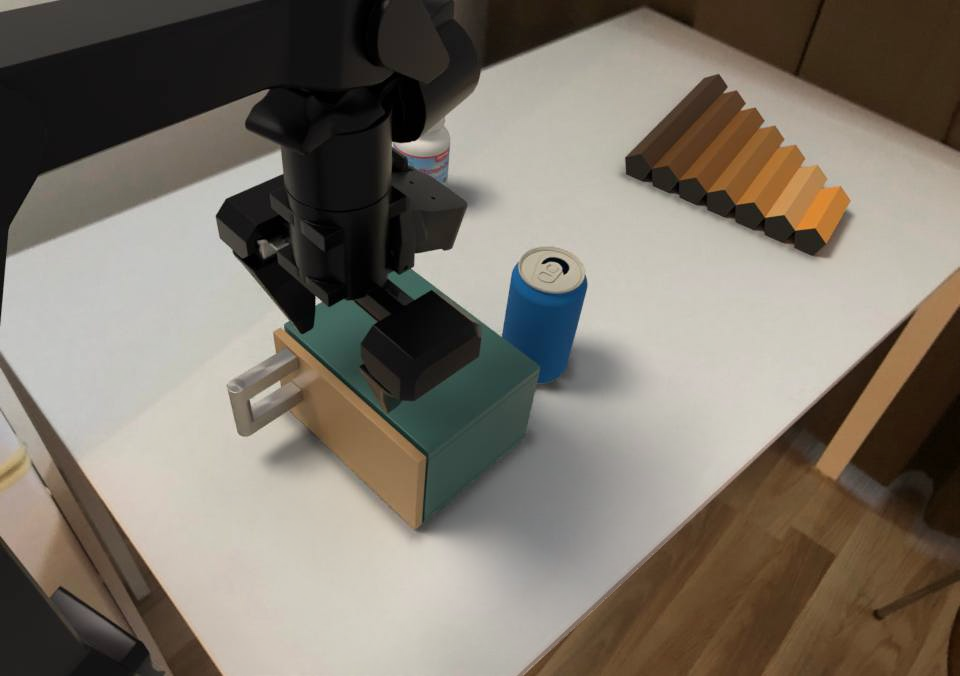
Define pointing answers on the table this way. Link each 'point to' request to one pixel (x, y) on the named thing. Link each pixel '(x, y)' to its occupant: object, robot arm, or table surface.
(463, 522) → the table surface
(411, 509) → the wooden cabinet door
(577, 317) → the beverage can
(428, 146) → the pill bottle
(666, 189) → the pan flute
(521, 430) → the green cabinet
